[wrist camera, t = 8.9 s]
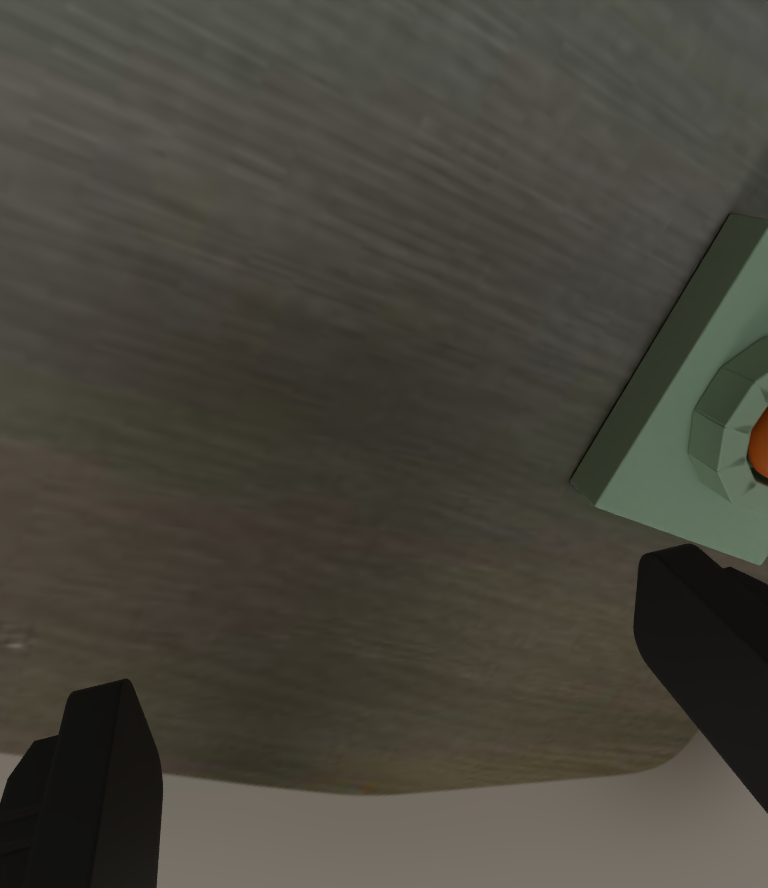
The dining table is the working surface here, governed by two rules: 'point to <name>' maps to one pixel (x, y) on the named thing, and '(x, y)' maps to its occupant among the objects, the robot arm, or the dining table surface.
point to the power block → (696, 409)
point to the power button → (759, 445)
